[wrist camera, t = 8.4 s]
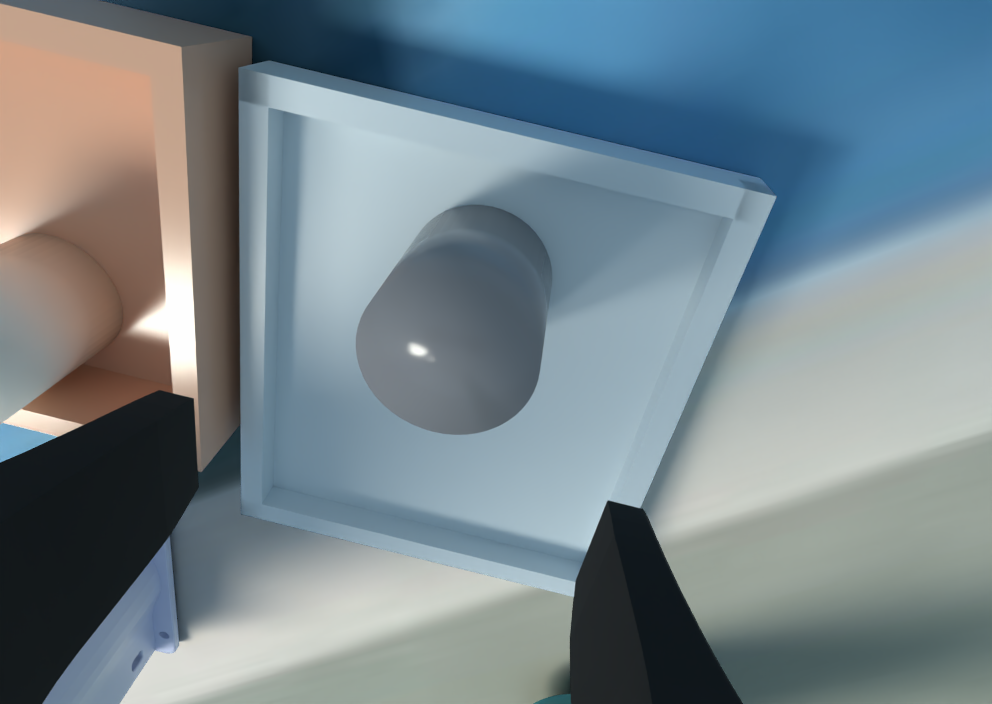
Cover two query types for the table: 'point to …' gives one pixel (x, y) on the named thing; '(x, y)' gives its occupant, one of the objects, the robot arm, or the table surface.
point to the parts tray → (568, 337)
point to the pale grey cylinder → (50, 315)
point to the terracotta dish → (131, 196)
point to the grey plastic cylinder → (459, 323)
